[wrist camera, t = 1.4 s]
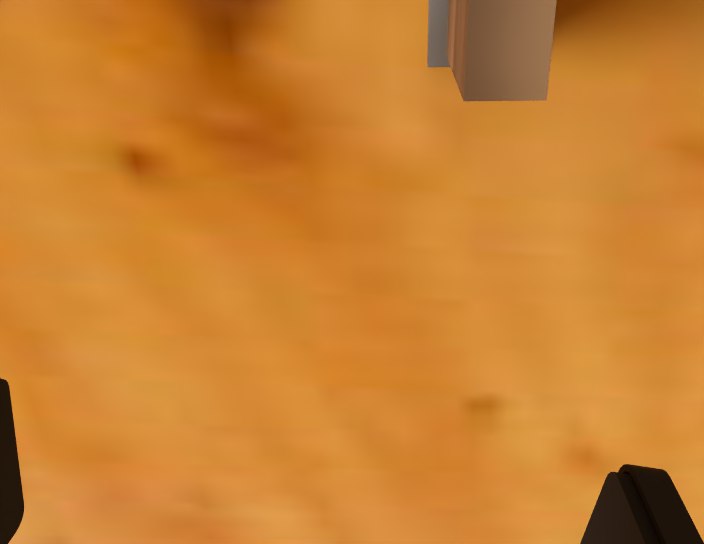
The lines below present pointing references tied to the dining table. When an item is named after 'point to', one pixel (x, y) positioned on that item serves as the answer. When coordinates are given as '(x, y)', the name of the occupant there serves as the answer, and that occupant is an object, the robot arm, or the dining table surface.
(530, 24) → the scraper
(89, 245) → the dining table surface
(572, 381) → the dining table surface
